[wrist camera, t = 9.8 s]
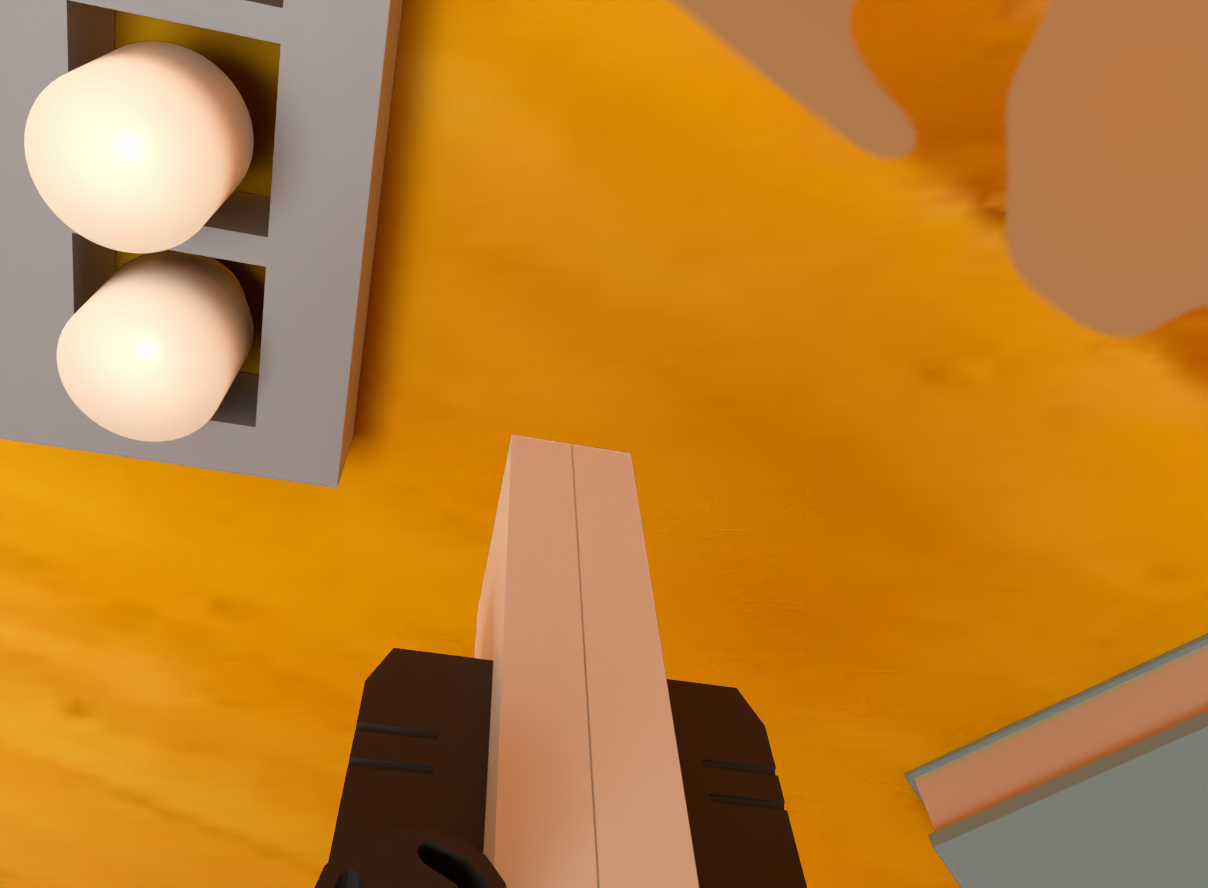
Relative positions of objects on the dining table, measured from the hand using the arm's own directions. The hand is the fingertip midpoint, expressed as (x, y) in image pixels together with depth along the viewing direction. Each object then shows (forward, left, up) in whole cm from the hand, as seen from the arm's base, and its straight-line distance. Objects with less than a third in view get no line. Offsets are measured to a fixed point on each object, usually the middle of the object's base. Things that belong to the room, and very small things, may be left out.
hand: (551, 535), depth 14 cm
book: (+37, -26, -27) cm, 53 cm away
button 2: (-11, -9, -26) cm, 29 cm away
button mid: (-11, -2, -24) cm, 26 cm away
